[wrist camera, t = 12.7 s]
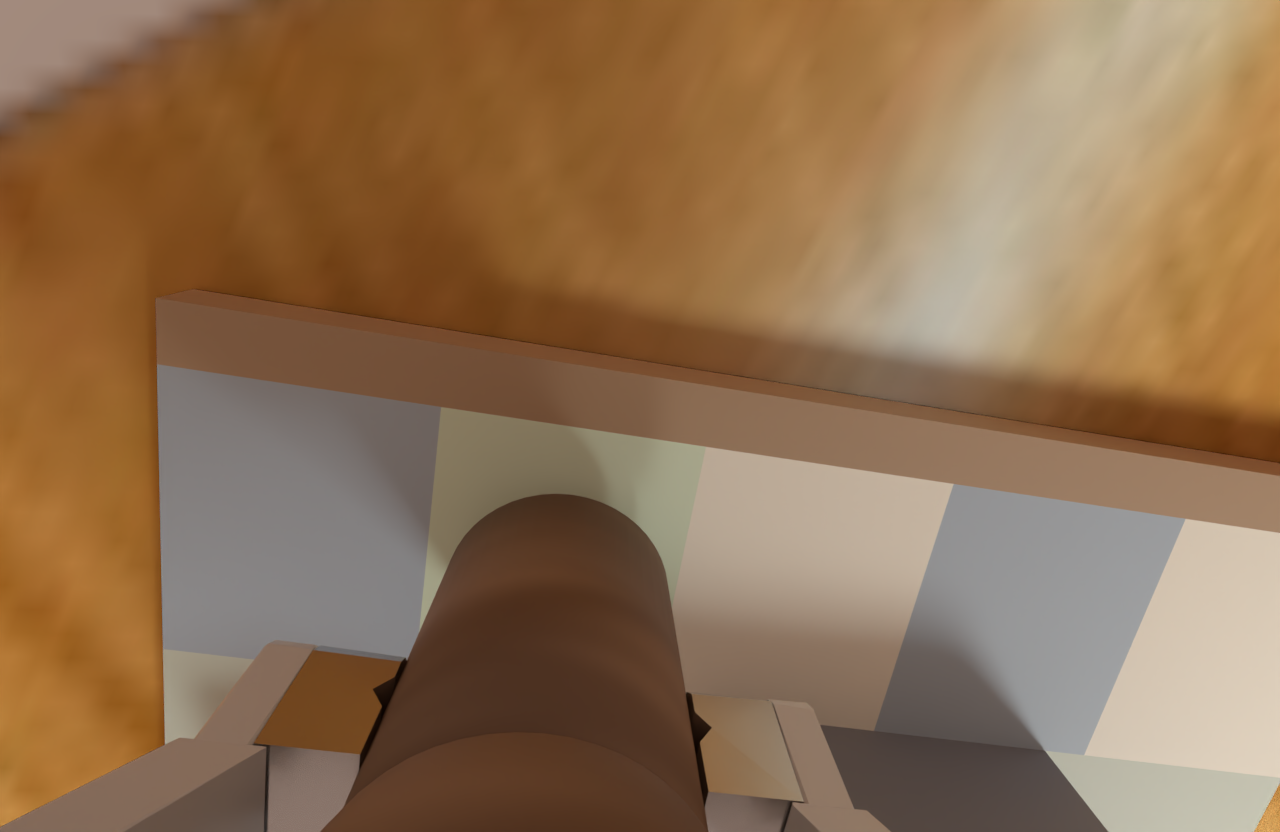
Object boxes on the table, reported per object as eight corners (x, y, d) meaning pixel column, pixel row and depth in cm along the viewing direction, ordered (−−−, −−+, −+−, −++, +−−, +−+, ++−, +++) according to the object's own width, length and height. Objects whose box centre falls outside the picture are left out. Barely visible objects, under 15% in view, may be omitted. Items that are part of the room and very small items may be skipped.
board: (1372, 477, 13) (1677, 592, 10) (1119, 981, 17) (1265, 1208, 13) (192, 289, 11) (-15, 338, 8) (196, 903, 15) (59, 1142, 11)
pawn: (713, 516, 11) (948, 1197, 3) (642, 723, 12) (702, 1602, 4) (460, 452, 10) (97, 1081, 3) (409, 674, 11) (37, 1563, 4)
